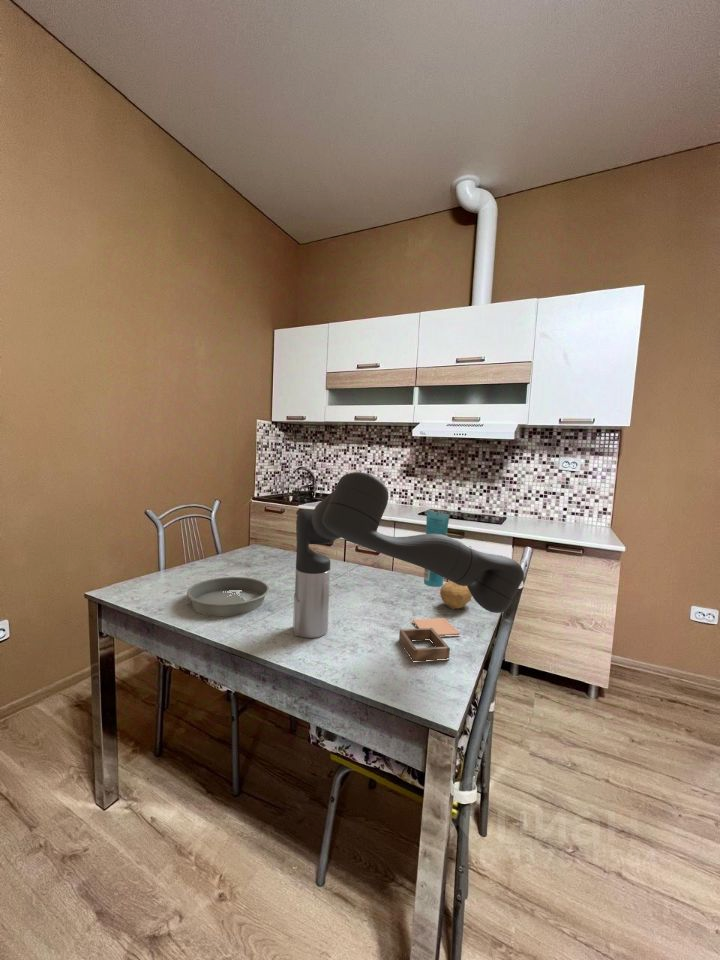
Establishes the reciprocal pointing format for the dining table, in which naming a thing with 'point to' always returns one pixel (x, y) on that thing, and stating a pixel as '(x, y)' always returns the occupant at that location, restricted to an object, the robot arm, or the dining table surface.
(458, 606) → the potato
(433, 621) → the coaster
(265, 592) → the cake pan
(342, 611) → the dining table surface
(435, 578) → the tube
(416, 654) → the wooden tray
